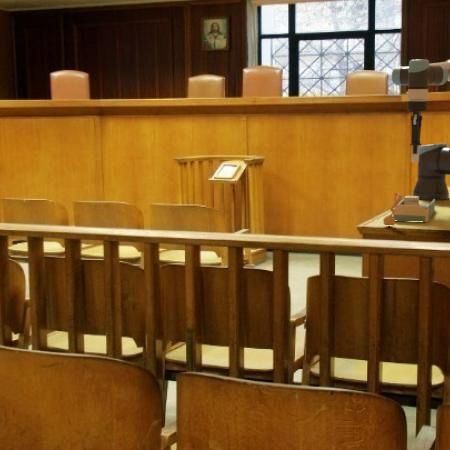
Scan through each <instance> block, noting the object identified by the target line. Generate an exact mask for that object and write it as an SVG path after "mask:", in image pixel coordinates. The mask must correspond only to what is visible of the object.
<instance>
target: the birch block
mask: <svg viewBox="0 0 450 450" xmlns="http://www.w3.org/2000/svg"><path fill="white" fill-rule="evenodd" d="M403 199H404V205H416V206H418V205H419V204H420V199H419V196H413V195H405V196H404V197H403Z"/></svg>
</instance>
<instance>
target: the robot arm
mask: <svg viewBox="0 0 450 450" xmlns="http://www.w3.org/2000/svg"><path fill="white" fill-rule="evenodd" d="M391 81H392V83H393V84H394V85H395V86H401V87H403V86H407V91H406V92H405V94H406V95H407V100H408V101H407V103H406V111H408V112H412V115H411V116H410V122H411V123H410V124H411V127H410V128H411V142H410V143H409V146H411V156H410V159H411V160H410V163H417V180H416V182H415V185H414V188H413V191H412V196H419V200H426V201H433V199H435V201H442V200H443V201H444V200H447V199H449V198H450V192H449V188H448V184H447V181H446V176H450V146H448V144H447V143H445V142H443V143H434V144H425V145H424V144H422V143H421V134H422V133H421V131H422V123H423V115H422V112H426V111H428V101H427V100H428V99H429V86H442V85H444V84H446V83H447V82H450V59H447V60H446V61H441V62H434V63H430V61H429V59H410V60H409V62H408V66H405V65H404V66H403V65H402V66H396V67H394V68H393V70H392V72H391Z"/></svg>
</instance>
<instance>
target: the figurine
mask: <svg viewBox="0 0 450 450" xmlns="http://www.w3.org/2000/svg"><path fill="white" fill-rule="evenodd" d="M393 196H394V197H393V198H394V203H393V204H392V205H391V206H390V208H389V210H390V211H391V214H389V215H388V214H387V215H386V216H384V218H383V225H384V226H385V225H393V226H395V225H396V222H395V218H394V217H393V214H394V211H395V210H394V208H395V207H396V206H397V205H398V204H399V203H400V202H401V201H402V200H403V194H402V193H398V192H397V191H395V192H394V194H393Z"/></svg>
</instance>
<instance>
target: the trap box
mask: <svg viewBox="0 0 450 450" xmlns="http://www.w3.org/2000/svg"><path fill="white" fill-rule="evenodd" d="M435 208H436V200H435V199H433V200H431V202H430V203H419V205H418V206H416V205H404V198H402V199H401V201H400V202H399V204H398V205H397V206H396V207H395V208H393V209H394V210H395V211H394V214H393V215H392V216H393V217H394V218H395V220H397V221H423V222H427V221H428V222H429V220H430V219H429V218H431V217H432V215H433V214H434V212H435V210H436V209H435ZM428 219H429V220H428ZM428 222H427V223H428Z"/></svg>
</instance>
